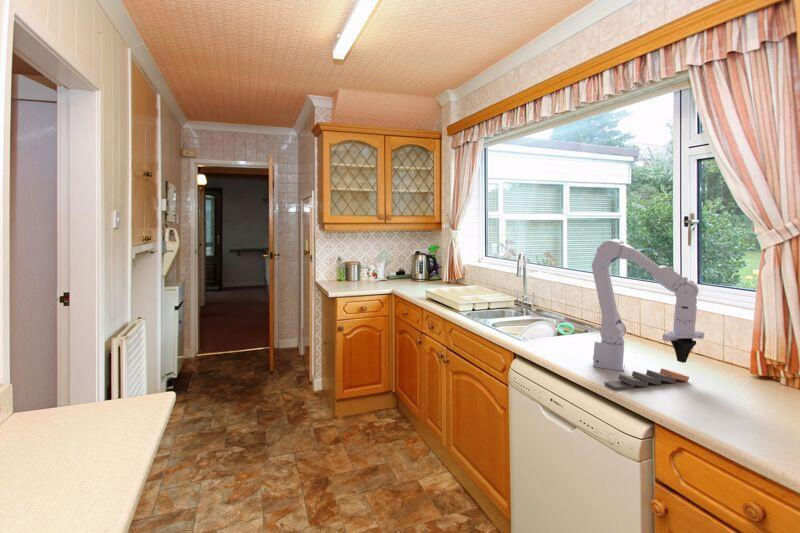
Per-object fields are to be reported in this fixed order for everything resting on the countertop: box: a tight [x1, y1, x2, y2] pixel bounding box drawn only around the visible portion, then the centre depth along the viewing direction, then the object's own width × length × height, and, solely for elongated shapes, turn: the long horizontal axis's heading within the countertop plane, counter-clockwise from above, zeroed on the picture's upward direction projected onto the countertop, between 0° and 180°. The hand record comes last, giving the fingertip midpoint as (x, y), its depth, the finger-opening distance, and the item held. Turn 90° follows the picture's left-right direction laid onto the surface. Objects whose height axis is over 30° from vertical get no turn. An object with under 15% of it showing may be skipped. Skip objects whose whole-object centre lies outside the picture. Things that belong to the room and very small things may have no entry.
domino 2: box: [617, 374, 649, 388], centre depth 134 cm, size 2×4×7 cm
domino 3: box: [631, 370, 662, 386], centre depth 136 cm, size 2×4×7 cm
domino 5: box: [659, 367, 690, 383], centre depth 139 cm, size 2×4×7 cm
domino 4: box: [645, 369, 677, 384], centre depth 137 cm, size 2×4×7 cm
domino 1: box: [604, 379, 636, 392], centre depth 133 cm, size 2×4×7 cm
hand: (681, 361), depth 139 cm, fingers closed
